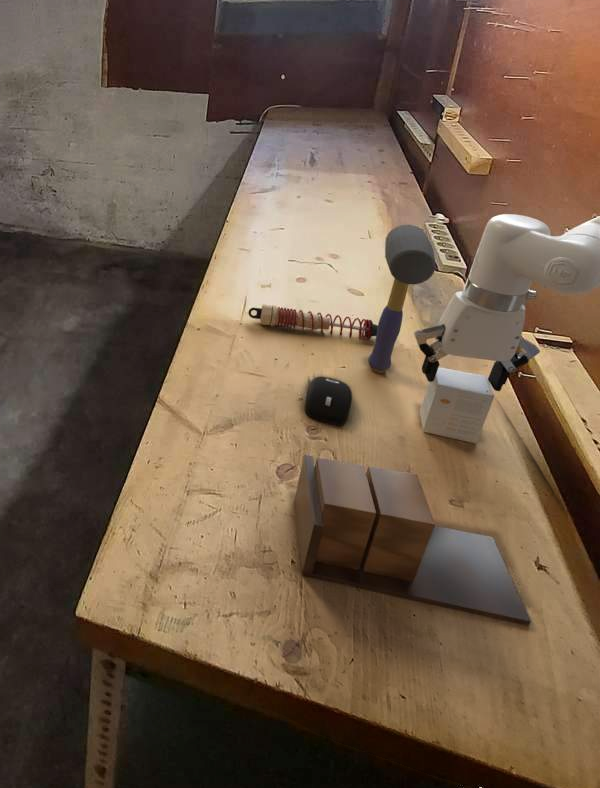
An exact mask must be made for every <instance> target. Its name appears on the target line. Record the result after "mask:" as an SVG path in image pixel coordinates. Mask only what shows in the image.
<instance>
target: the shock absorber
mask: <svg viewBox="0 0 600 788" xmlns="http://www.w3.org/2000/svg"><path fill="white" fill-rule="evenodd" d="M253 311H255V312H256V314H255V315H254V314H252V312H253ZM248 316H249V317H250V318H251V319H256V320H259V322H260V324H261V325H265V326H271V327H275V326H277V327H279V326H280V327H284V328H286V327H287V328H290V329H292V328H293V329H296V327H297V328H301V329H302V330H303V331H305V329H311V332H314V330H320V332H321V333H324V332H323V331H324V330H326V331H328V330H329V329H330V333H329V334H330V335H332V334H333V330H334V327H335V328H336V327H337V328H339V329H340V332H339V336H342V335H343V329H349V338H351V337H352V335H353V330H356V331H358V338H359V339H363V340H370V339H371V338H372V337H376V336H377V327H378V324H375V323H373V321H372V319H367V318H366V319H365V318H362V320H361V319H360V318H359V317H356V318H355V319H354V320H353V321H352V319H351V318H350V316H346V317H344V318H343V321H342V317H341V316H340V314H338V315H337V314H336V315H335V317H334V318H333V317H332V314H330V313H327V314H326V315H325V316H323V314H322V313H321V312H317V313H316V314H315V313H313V312H312V311H311V310H309V311H308V312H304V311H303V310H302V309H299V311H297V309H295V308H294V309H293V308H289V307H288V308H287V307H283V306H282V307H280V306H277V305H272V304H265V303H263V304H262V305H261V307H251V308H249V309H248ZM337 318H338V319H339V323H336V320H337ZM347 319H348V321H349V324H345V322H346V320H347ZM356 321H358V324H359V326H358V325H355V322H356ZM362 325H363V326H362Z"/></svg>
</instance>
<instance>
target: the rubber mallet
mask: <svg viewBox="0 0 600 788" xmlns="http://www.w3.org/2000/svg"><path fill="white" fill-rule="evenodd" d="M384 253H385V254H384V258H385V260H386V264H387V266H388V269H389V273H390V275H391V276H392V277H393V278H394V279H393V283H392V287H391V290H390V294H389V297H388V301H387V304H386V306H385V307H384V308H383V310H382V312H381V314H380V317H379V321H378V323H377V326H378V327H377V336H375V341H374V345H373V349H372V352H371V353H370V355H369V357H368V359H367V363H368V365H369V367H370V369H371V370H372V371H373V372H374V373H378V374H384V373H386V372H387V371H388V370H390V368H391V366H392V354H393V350H394V347H395V344H396V341H397V339H398V337H399V335H400V332H401V328H402V323H403V317H404V316H403V315H404V313H403V309H404V305H405V301H406V297H407V294H408V290H409V286H410V285H418V284H422V283H423V284H424V282H426V281H428V280H429V279H431V278H432V277H433V275H434V273H435V271H436V265H437V264H436V256H435V251H434V248H433V245H432V242H431V241H430V238H429V237H428V235H427V233H426V232H425V231H424V230H423V228H420V227H419V226H418V225H417V226H416V225H414V224H401V225H398V226H396V227H394V228H392V229H391V230H390V231H389V232H388V233H387V235H386V237H385V245H384Z"/></svg>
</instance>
